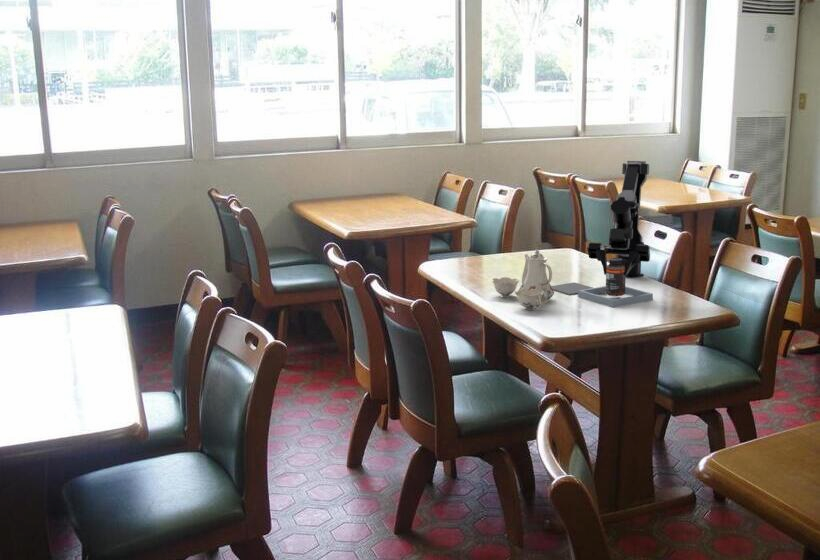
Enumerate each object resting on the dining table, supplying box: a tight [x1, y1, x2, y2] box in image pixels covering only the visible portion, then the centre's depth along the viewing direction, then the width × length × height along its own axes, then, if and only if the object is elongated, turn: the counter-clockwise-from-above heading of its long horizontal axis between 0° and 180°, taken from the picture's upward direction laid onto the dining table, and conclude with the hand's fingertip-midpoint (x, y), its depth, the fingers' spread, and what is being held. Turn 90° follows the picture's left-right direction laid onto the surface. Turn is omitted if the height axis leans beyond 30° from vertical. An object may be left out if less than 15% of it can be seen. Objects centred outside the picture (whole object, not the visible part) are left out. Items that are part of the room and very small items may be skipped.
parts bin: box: [577, 285, 654, 308], centre depth 277 cm, size 16×16×2 cm
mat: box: [551, 282, 594, 296], centre depth 290 cm, size 12×12×1 cm
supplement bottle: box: [605, 257, 627, 297], centre depth 276 cm, size 6×6×11 cm
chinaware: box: [491, 248, 555, 311], centre depth 274 cm, size 28×17×17 cm, turn 24°
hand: (615, 274), depth 275 cm, fingers closed on supplement bottle, 6 cm apart
